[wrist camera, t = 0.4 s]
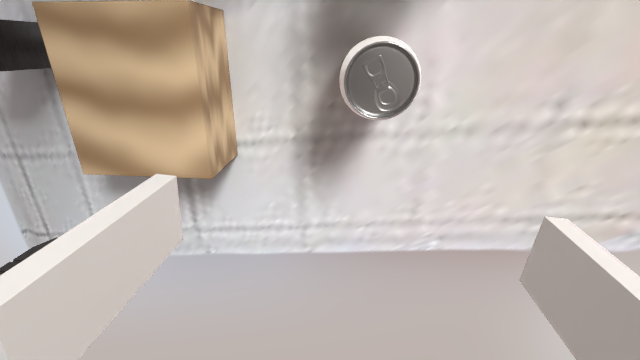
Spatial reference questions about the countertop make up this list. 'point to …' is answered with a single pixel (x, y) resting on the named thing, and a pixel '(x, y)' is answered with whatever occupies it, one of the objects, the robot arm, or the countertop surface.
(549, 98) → the countertop surface
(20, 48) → the tool
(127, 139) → the shelf
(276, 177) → the countertop surface
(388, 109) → the can
